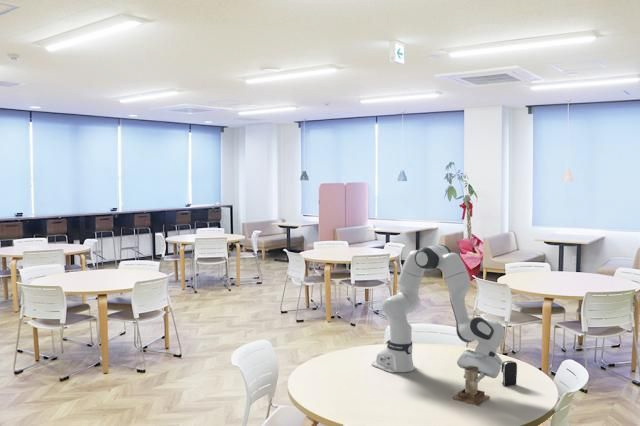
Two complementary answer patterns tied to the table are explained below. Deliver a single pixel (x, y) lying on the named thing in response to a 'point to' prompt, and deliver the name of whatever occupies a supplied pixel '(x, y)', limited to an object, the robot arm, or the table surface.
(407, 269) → the robot arm
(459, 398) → the dock
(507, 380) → the battery charger
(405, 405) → the table surface
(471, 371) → the tall wooden pillar
